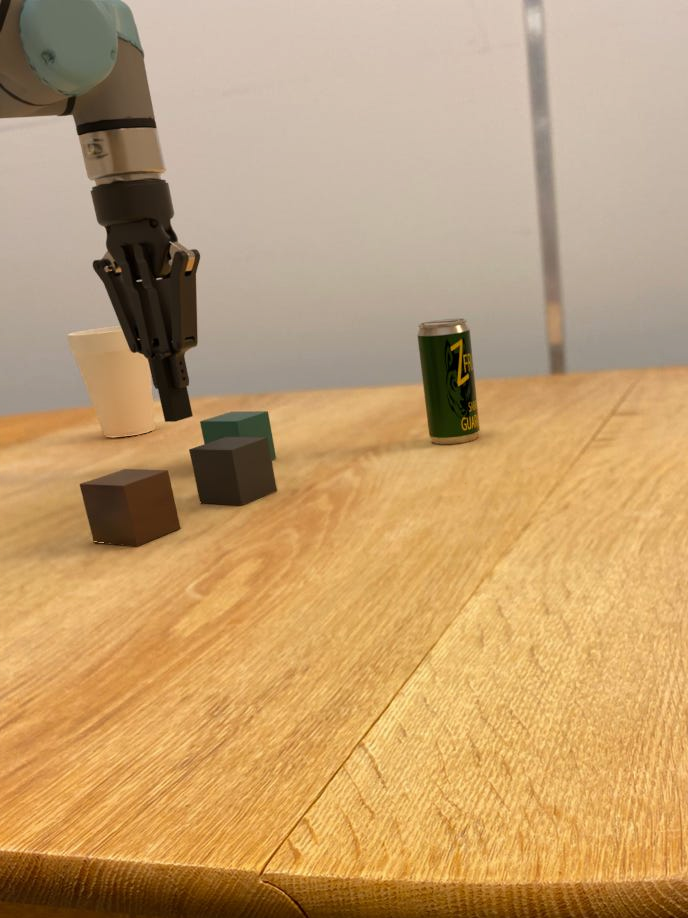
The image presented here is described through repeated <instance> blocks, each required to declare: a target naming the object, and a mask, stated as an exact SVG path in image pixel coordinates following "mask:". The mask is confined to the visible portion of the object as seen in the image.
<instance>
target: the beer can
mask: <svg viewBox="0 0 688 918" xmlns="http://www.w3.org/2000/svg"><path fill="white" fill-rule="evenodd" d="M417 324H418V325H417V326H418V331H417V334H416V336H417V343H418V352H419V361H420V369H421V377H422V387H423V394H424V395H423V396H424V403H425V412H426V420H427V429H428V435H429V437H430V440H431V441H432V443H434V444H436V445H457V444H464V443H469V442H472V441H474V440H476V439H478V437H479V434H480V430H481V427H480V421H479V420H480V418H479V408H478V398H477V389H476V381H475V379H476V378H475V369H474V368H475V367H474V360H473V359H474V358H473V349H472V341H471V339H472V338H471V330H470V327H469V326H468V324H467V318H446V319H445V318H444V319H436V320H429V321H425V322H420V323H417Z"/></svg>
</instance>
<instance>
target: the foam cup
mask: <svg viewBox="0 0 688 918" xmlns="http://www.w3.org/2000/svg"><path fill="white" fill-rule="evenodd" d="M66 336H67V340H68V344H69V345H68V346H69V348H70V353H71V355H73V357H74V359H75V362H76V365H77V367H78V370H79V373H80V375H81V378H82V381H83V383H84V386H85V388H86V389H85V390H86V391H87V394H88V396H89V399H90V402H91V405H92V407H93V411H94V412H95V415H96V418H97V420H98V423H99V426H100V429H101V431H102V433H103V436H104V435H106V436H125V435H132V434H139V433H143V432H147V431H150V430H153V429H154V428H155V429H156V427H155V424H156V421H155V412H154V411H155V408H154V397H153V387H152V376H151V375H152V374H151V371H150V367H149V362H148V359H147V358H146V357H145V356H144V355H143V354H140V353H138V352H137V353H133V352H132V351H131V350H130V348H129V346H128V343H127V341H126V338H125V336H124V333H123V331H122V328H121V326H120V325H114V326H106V327H98V328H91V329H86V330H80V331H74V332H71V333H68V334H67V335H66ZM138 340H139V339H138Z"/></svg>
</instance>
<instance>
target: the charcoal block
mask: <svg viewBox="0 0 688 918" xmlns="http://www.w3.org/2000/svg"><path fill="white" fill-rule="evenodd" d="M188 451H189V455H190V460H191V466H192V470H193V476H194V480H195V484H196V490H197V495H198V500H199V503H200V502H201V503H200V504H203V503H214V504H213V505H224V504H227V505H226V506H245V505H247V504H250V503H251V502H254V501H256V500H258V499H260V498H261V499H262V498H263V497H265V496H268V495H270V494H272V493H275V492H277V491H278V488H277V483H276V477H275V471H274V466H273V460H271V454H270V448H269V443H268V438H267V437H225V438H222V439H219V440H216V441H213V442H210V443H207V444H204V443H203V444H201V445H198V446H195V447H192V448H189V449H188Z"/></svg>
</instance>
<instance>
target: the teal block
mask: <svg viewBox="0 0 688 918" xmlns="http://www.w3.org/2000/svg"><path fill="white" fill-rule="evenodd" d="M270 420H271V419H270V414H269V411H265V410H264V411H263V410H261V411H254V410H253V411H252V410H251V411H249V410H248V411H244V410H243V411H229V412H226V413H222V414H220V415H216V416H213V417H210V418H207V419H203V420H200V421H199V425H200V429H201V434H202V438H203V439H202V440H203V445H204V444H207V443H210V442H213V441H216V440H219V439H222V438H225V437H267V438H268V443H269V448H270V454H271V460H272V461H273V460H276V459H277V454H276V448H275V444H274V443H275V442H274V437H273V432H272V426H271V421H270Z"/></svg>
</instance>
